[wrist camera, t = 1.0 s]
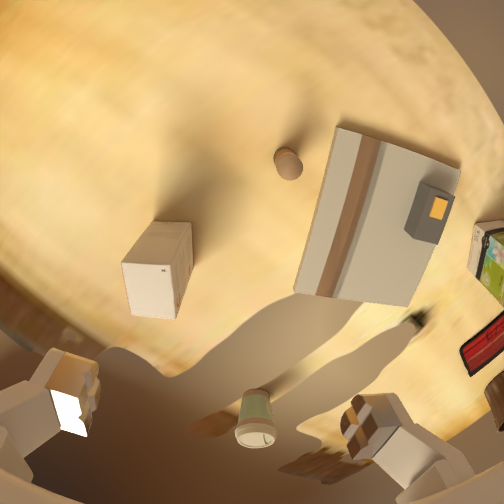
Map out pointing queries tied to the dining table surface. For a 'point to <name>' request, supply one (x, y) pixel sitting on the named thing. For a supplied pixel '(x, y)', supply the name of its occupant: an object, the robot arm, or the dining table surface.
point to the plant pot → (496, 400)
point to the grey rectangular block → (429, 213)
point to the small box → (159, 269)
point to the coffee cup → (256, 420)
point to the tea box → (488, 257)
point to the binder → (484, 346)
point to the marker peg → (288, 164)
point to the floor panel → (369, 222)
